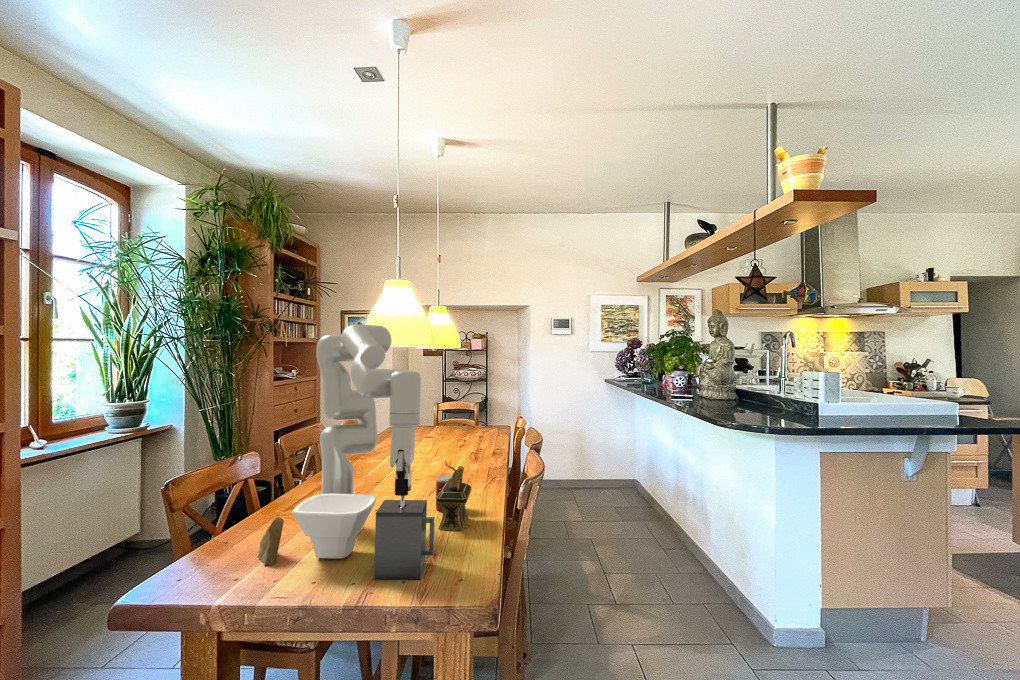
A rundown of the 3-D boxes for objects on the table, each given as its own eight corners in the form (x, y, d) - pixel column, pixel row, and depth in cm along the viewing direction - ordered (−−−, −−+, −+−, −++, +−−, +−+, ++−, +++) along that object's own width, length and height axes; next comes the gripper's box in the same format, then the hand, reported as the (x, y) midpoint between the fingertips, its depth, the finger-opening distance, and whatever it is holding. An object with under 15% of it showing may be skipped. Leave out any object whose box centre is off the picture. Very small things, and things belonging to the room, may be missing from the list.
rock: (283, 557, 130) (300, 538, 140) (262, 531, 129) (280, 514, 139) (250, 581, 131) (269, 560, 141) (229, 555, 130) (249, 536, 140)
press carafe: (374, 580, 123) (375, 512, 124) (382, 561, 134) (384, 499, 135) (430, 579, 124) (432, 512, 124) (434, 561, 135) (436, 500, 135)
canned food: (431, 511, 179) (432, 479, 179) (443, 505, 186) (443, 474, 187) (451, 514, 176) (451, 481, 177) (461, 508, 184) (462, 476, 184)
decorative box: (442, 515, 175) (443, 456, 175) (470, 516, 174) (472, 457, 175) (432, 535, 155) (434, 469, 155) (464, 536, 154) (465, 470, 155)
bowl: (313, 541, 148) (315, 492, 148) (380, 543, 147) (382, 494, 147) (283, 568, 129) (284, 512, 129) (359, 570, 128) (361, 514, 129)
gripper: (395, 415, 138) (393, 484, 138) (383, 423, 122) (381, 502, 121) (423, 416, 139) (421, 484, 138) (415, 424, 122) (413, 502, 122)
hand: (402, 492), depth 130 cm, fingers closed on plunger, 4 cm apart
